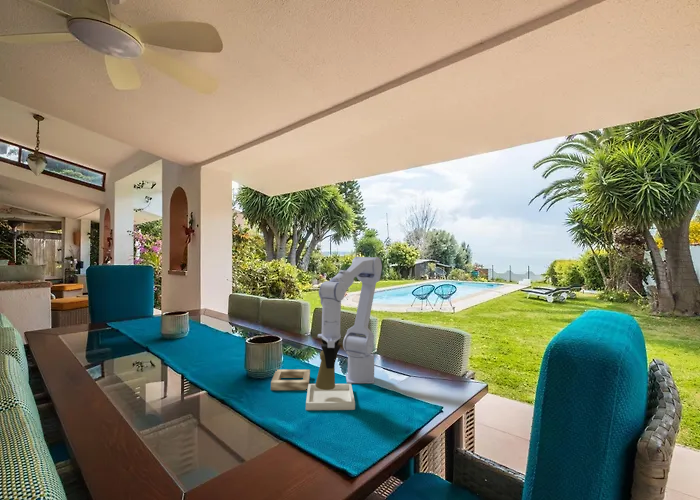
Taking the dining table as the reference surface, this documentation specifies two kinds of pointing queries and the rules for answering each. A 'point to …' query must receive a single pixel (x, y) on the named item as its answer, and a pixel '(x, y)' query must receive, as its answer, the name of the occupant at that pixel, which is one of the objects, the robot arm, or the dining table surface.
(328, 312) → the robot arm
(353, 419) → the dining table surface
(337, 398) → the tray
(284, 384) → the frame
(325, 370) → the olive tall rounded piece
